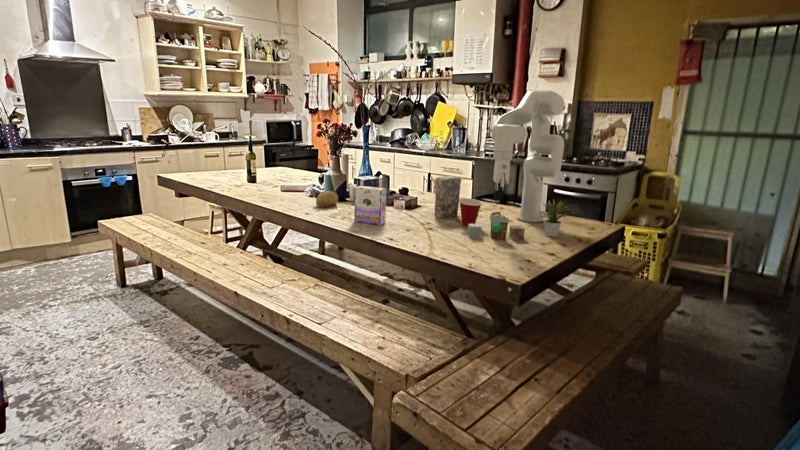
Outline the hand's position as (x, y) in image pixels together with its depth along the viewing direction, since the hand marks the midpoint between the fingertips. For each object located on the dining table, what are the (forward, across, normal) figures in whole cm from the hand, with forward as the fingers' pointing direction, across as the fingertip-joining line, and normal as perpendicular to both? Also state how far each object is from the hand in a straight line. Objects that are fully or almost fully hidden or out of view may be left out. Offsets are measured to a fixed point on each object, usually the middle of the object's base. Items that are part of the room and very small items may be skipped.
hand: (498, 199), depth 191 cm
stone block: (+16, +37, +18) cm, 44 cm away
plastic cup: (+16, +19, +8) cm, 26 cm away
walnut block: (+16, +1, -10) cm, 19 cm away
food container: (+16, +1, 0) cm, 17 cm away
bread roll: (+17, +51, +80) cm, 96 cm away
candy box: (+17, +18, +54) cm, 60 cm away
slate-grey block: (+16, +1, +8) cm, 19 cm away
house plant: (+16, +7, -26) cm, 32 cm away
